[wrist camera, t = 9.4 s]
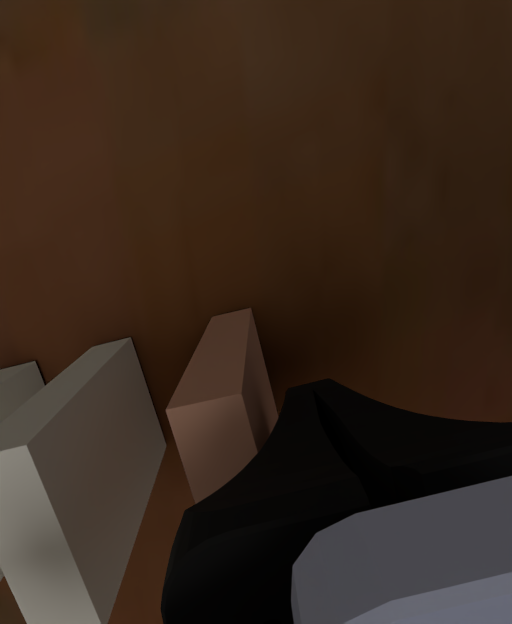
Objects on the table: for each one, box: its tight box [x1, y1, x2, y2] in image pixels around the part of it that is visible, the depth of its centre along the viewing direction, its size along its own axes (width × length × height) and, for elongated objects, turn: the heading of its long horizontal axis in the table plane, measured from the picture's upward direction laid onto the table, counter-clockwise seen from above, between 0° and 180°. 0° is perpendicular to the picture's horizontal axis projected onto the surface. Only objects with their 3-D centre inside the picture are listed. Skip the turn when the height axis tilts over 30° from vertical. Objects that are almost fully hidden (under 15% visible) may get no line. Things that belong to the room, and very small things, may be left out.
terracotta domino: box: [166, 308, 278, 504], centre depth 13 cm, size 2×5×8 cm, turn 13°
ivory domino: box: [0, 337, 167, 624], centre depth 13 cm, size 2×5×8 cm, turn 13°
